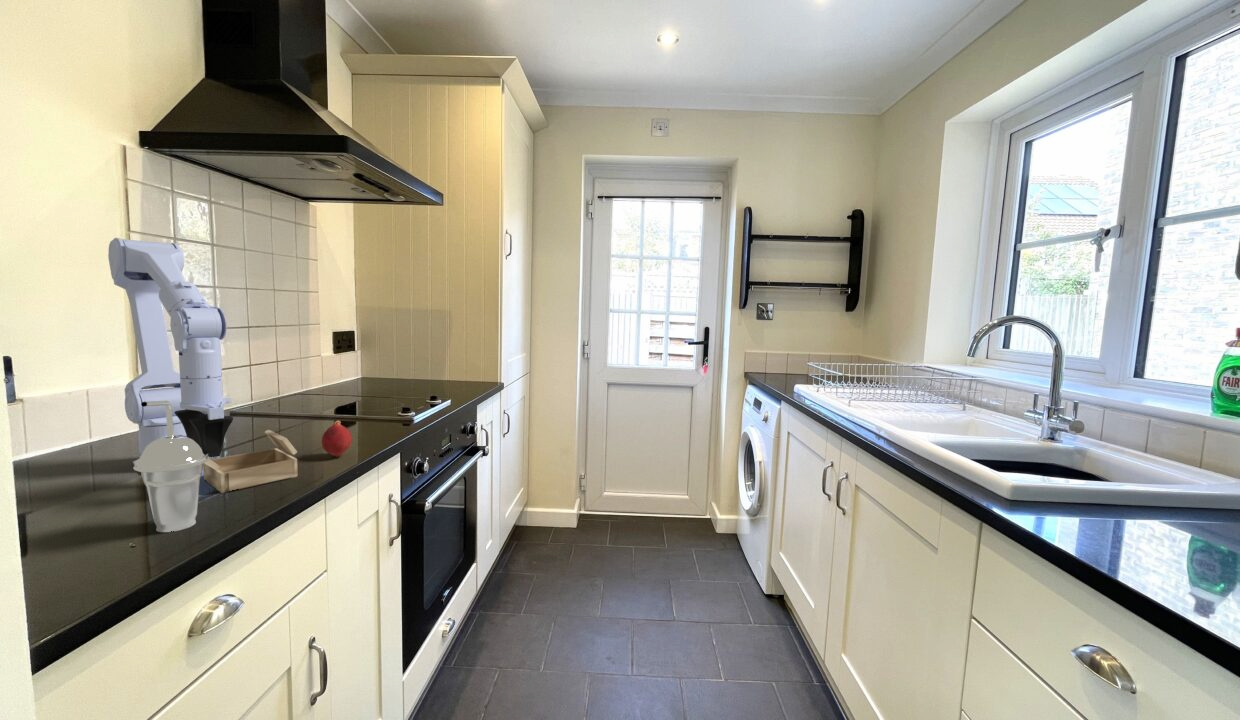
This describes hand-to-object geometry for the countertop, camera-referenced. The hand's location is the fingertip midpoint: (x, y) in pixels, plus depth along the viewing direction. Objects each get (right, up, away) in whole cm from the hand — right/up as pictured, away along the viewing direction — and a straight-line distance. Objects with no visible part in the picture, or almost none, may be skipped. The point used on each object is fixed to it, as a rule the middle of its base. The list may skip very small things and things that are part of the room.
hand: (205, 452), depth 91 cm
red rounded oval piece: (+12, -5, +21) cm, 24 cm away
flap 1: (0, 0, 0) cm, 1 cm away
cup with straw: (+7, -9, -14) cm, 18 cm away
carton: (+4, -6, +6) cm, 9 cm away
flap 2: (+7, 0, +9) cm, 11 cm away
